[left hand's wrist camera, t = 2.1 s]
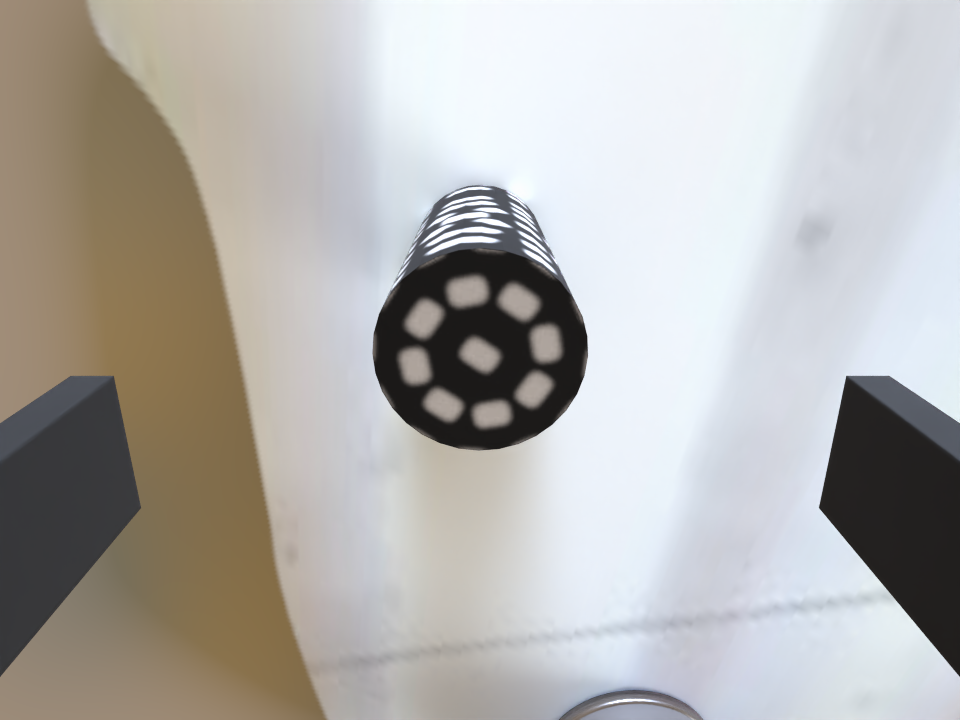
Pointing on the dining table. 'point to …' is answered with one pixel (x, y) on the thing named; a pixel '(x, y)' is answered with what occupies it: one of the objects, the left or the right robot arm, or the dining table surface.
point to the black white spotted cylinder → (480, 326)
